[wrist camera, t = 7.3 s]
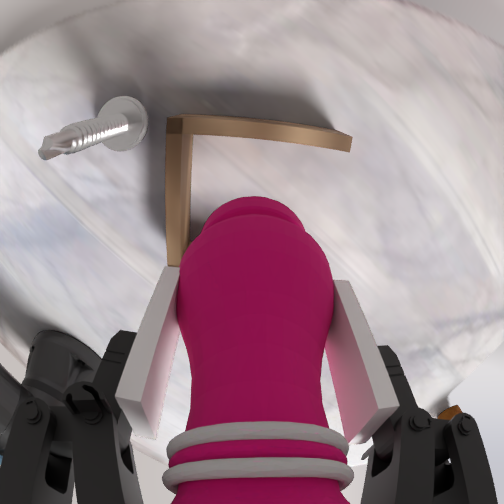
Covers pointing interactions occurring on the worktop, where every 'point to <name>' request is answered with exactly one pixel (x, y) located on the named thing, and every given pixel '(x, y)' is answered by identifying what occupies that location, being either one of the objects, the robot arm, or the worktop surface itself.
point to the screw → (101, 129)
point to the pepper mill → (256, 364)
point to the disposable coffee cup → (450, 413)
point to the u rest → (189, 124)
